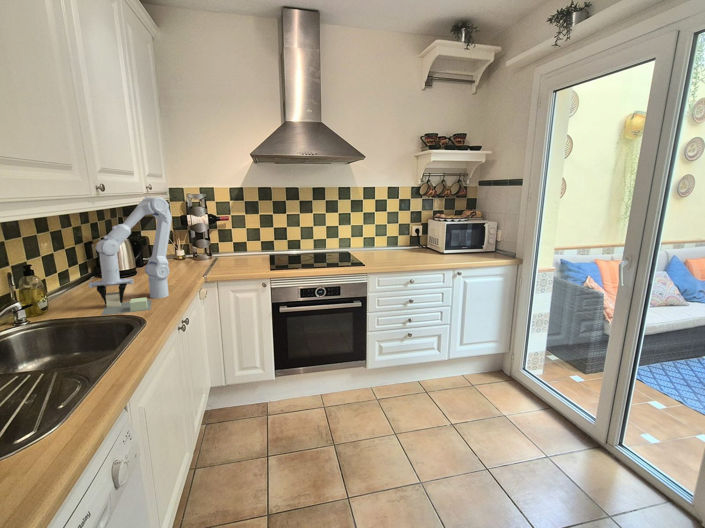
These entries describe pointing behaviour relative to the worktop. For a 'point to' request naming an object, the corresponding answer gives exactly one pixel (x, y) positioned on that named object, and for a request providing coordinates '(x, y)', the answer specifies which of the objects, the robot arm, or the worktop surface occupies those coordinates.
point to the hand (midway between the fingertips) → (114, 302)
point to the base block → (138, 304)
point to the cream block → (113, 299)
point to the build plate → (122, 308)
